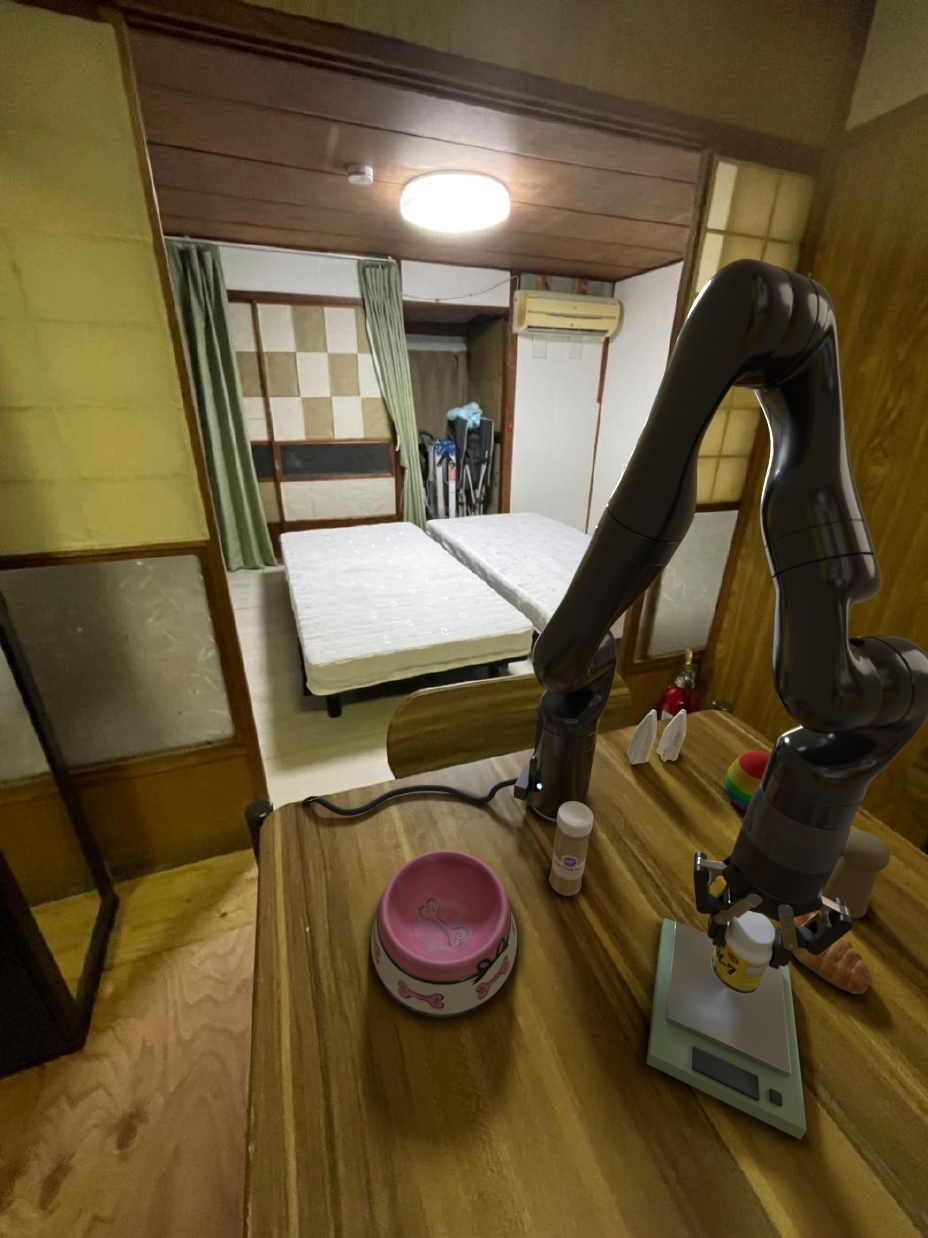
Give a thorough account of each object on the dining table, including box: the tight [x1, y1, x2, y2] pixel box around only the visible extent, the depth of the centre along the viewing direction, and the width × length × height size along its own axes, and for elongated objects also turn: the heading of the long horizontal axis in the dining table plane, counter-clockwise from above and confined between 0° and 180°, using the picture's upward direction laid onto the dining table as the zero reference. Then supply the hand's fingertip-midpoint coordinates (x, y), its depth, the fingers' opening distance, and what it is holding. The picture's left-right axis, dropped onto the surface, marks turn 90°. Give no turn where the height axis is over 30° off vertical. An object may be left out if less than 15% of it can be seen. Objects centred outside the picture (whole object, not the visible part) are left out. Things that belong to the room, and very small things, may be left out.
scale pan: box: [666, 921, 791, 1077], centre depth 57 cm, size 12×12×1 cm
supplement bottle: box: [711, 911, 776, 995], centre depth 54 cm, size 5×5×8 cm
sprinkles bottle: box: [548, 801, 594, 897], centre depth 69 cm, size 5×5×13 cm
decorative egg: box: [724, 750, 770, 813], centre depth 84 cm, size 8×8×10 cm
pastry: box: [779, 912, 874, 995], centre depth 62 cm, size 9×7×4 cm
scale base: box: [646, 917, 808, 1140], centre depth 57 cm, size 14×16×2 cm
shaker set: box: [626, 708, 687, 765], centre depth 93 cm, size 12×4×11 cm, turn 107°
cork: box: [821, 829, 891, 919], centre depth 68 cm, size 6×6×11 cm
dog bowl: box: [369, 849, 518, 1019], centre depth 64 cm, size 18×19×7 cm
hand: (743, 948), depth 54 cm, fingers closed on supplement bottle, 4 cm apart
